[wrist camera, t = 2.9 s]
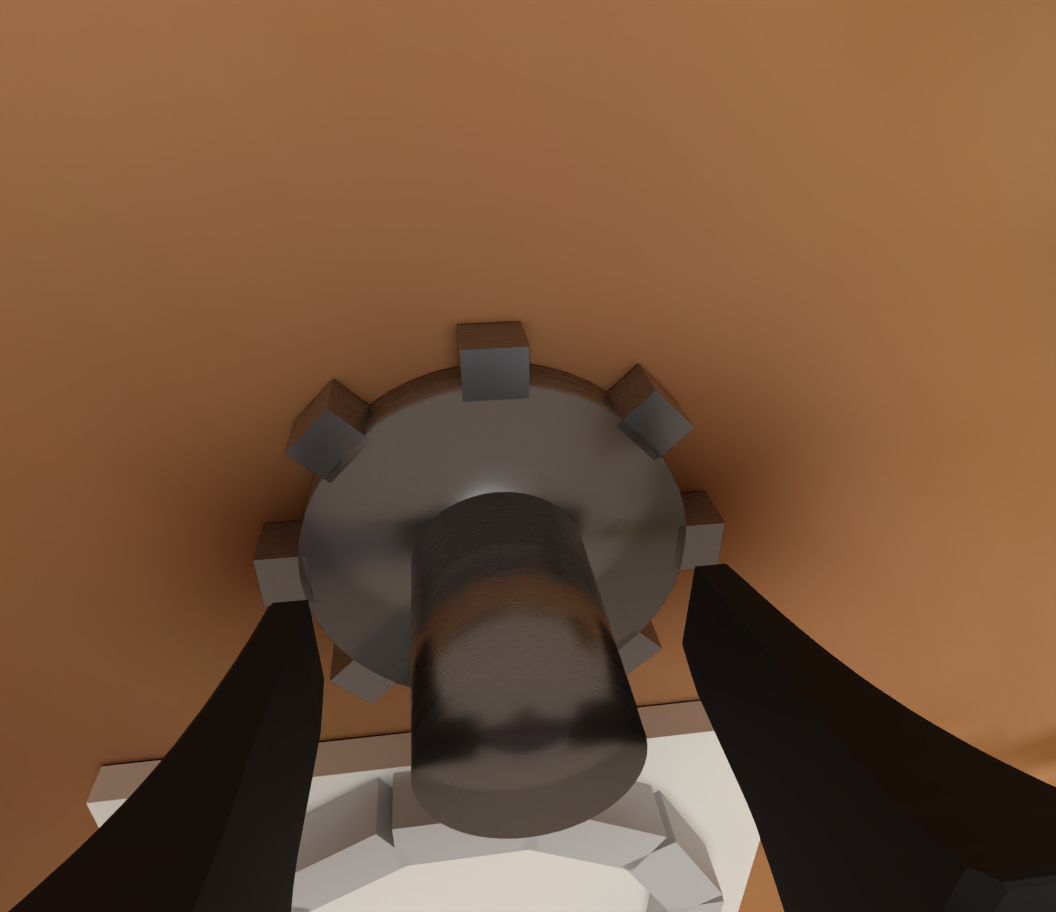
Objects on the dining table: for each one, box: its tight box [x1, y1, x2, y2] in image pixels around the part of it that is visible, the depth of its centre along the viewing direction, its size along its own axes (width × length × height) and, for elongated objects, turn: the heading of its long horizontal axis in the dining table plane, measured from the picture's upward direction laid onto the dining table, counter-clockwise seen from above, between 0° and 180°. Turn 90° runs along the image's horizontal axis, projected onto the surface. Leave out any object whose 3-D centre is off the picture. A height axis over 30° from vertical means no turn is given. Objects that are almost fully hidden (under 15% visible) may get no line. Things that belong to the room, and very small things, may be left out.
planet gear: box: [253, 322, 725, 839], centre depth 13 cm, size 10×10×6 cm
